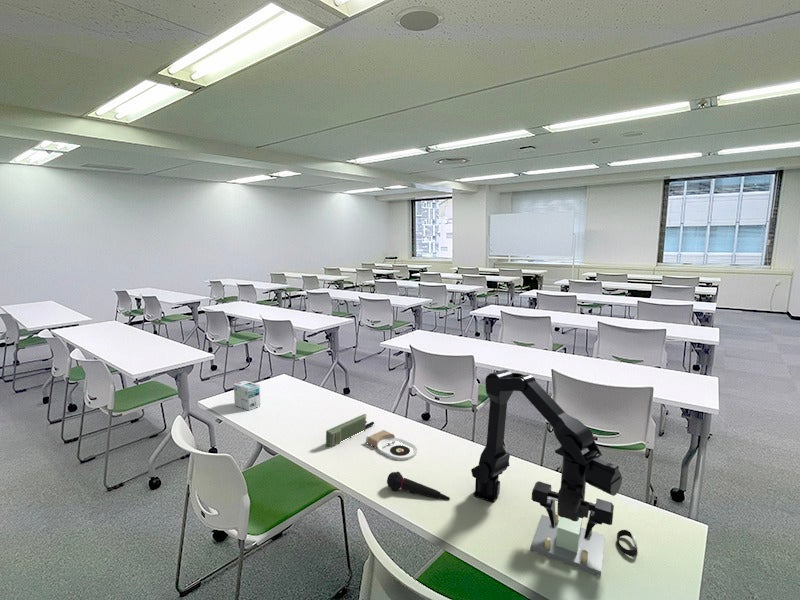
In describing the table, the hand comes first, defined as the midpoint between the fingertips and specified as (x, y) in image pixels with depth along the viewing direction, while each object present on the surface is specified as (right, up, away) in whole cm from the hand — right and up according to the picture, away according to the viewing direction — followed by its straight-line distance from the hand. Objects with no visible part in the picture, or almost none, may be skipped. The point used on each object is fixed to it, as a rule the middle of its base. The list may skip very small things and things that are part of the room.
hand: (569, 532), depth 105 cm
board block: (0, -2, 0) cm, 2 cm away
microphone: (-38, -1, +21) cm, 44 cm away
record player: (-46, +3, +49) cm, 67 cm away
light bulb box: (-114, +10, +86) cm, 143 cm away
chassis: (0, -3, 0) cm, 4 cm away
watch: (+15, -4, 0) cm, 15 cm away
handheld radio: (-62, +5, +58) cm, 86 cm away
